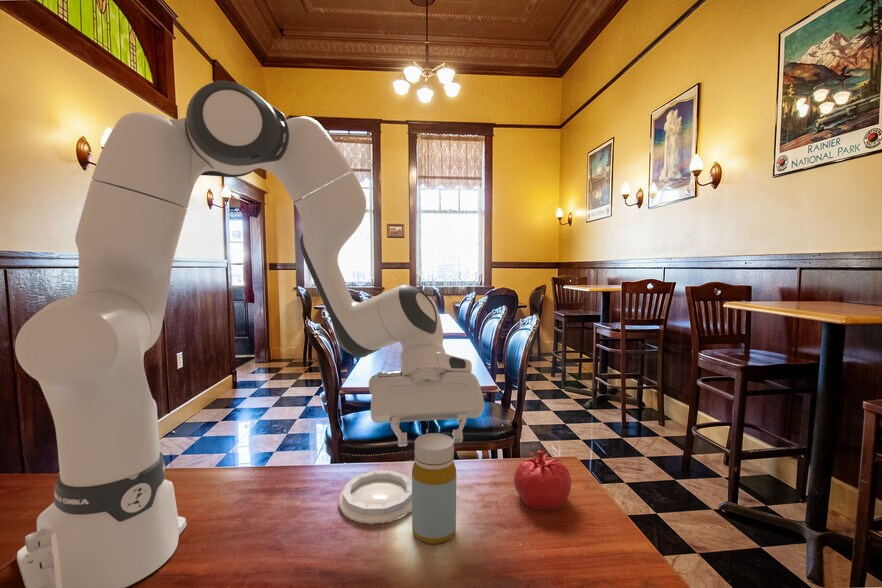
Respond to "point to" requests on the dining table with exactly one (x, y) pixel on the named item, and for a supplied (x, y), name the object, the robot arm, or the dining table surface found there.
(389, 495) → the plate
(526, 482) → the pomegranate
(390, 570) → the dining table surface
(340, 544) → the dining table surface
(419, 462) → the bottle
